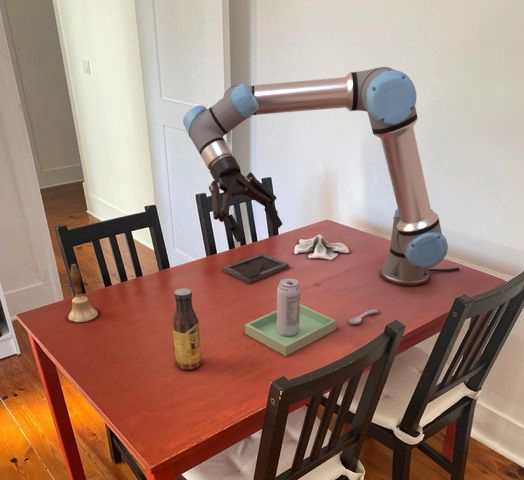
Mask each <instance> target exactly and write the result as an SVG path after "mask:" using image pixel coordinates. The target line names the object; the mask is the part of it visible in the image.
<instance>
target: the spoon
mask: <svg viewBox="0 0 524 480" xmlns="http://www.w3.org/2000/svg"><path fill="white" fill-rule="evenodd" d="M378 313H379V310H377V309H375V308H372V309H369V310H367V311H364V312H363V313H361V314H360V315H357V316H352V317H350V318H349V320H348V321H349V324H351V325H359V324H361V322H362V319H363V318H364V317H367V316H369V315H373V314H378Z"/></svg>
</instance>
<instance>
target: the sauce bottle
mask: <svg viewBox="0 0 524 480" xmlns="http://www.w3.org/2000/svg"><path fill="white" fill-rule="evenodd" d="M173 293H174V295H173V296H174V300H175V309H176V310H175V311H174V313H173V315H172V333H173V343H174V353H175V360H176V365H177V368H179V369H180V370H185V371H192V370H195V369H197V368H198V367H200V366H201V364H202V349H201V334H200V323H199V321H200V320H199V318H198V316H197V314H196V312H195V310H194V307H193V306H194V305H193V301H192V299H193V291H192V290H191V289H190V288H186V287H183V288H177V289H176V290H174V292H173Z"/></svg>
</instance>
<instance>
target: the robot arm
mask: <svg viewBox="0 0 524 480" xmlns="http://www.w3.org/2000/svg"><path fill="white" fill-rule="evenodd" d="M416 103H417V89H416V86H415V83H414V82H413V80H412V79H411V78H410V77H409V76H408V75H407V74H406V73H404V72H403V71H400V70H397V69H394V68H391V67H387V66H380V67H375V68H371V69H366V70H360V71H352V72H349V73H347V75H346V76H342V77H333V78H321V79H319V78H318V79H309V80H298V81H297V80H296V81H286V82H277V83H276V82H275V83H264V84H254V85H246V84H245V83H241V84H239V85H232V86H230V87H229V88H227V89H226V90H225V91H224V93H223V96H222V98H220V99H219V100H218V101H217V102H215V103H214V104H213V105H212V106H210V107H209V108H207V106H204V105H203V104H202V105H201V104H200V105H196V106H195V107H191V108H190V109H189V110H188V111H186V113H185V114H184V116H183V118H182V123H183V126H184V128H185V130H186V132H187V134H188V137H189V138H190V140H191V142H192V143H193V145H194V146H195V148H196V150H197V152H198V154H199V155H200V157H201V159H202V161H203V162H204V164H205V166H206V168H207V169H208V170H209V173H210V175H211V177H212V179H213V180H212V181H211V183H210V184H209V186H208V190H209V192H210V195H211V206H212V216H213V220H215V221H217V220H218V221H219V222H220V223H223V224H224V225H225V227H226V229H227V230H228V231H229V232H231V234H232V235H233V237H234V239H235V241H236V243H240V242H241V241H242V240H243V239H244V238H245V235H244V233H243V231H242V230H241V228H240V226H239V224H238V222H237V220H236V219H235V217H234V215H233V214H232V213H231V214H229V213H230V208H231V202H232V201H231V200H232V198H234V197H236V196H241V195H243V196H247V197H248V198H250V199H252V200H253V201H255V202H256V203H258V204H260V205H261V206H263V207H264V209H263V210H264V212H265V213H266V215H267V217H268V219H269V221H270V223H271V225H272V226H273V228H274V230H275V231H277V230H279V229H280V228H281V227H282V225H284V224H283V222H282V220H281V218H280V217H279V211H278V209H276V207H275V205H274V202H275V201H276V200H277V196H276V195H275V194H274V193H273V192H272V191H270V189H268V188H267V187H266V186H265V185H263V184H262V182H260V181H259V180H258V179H257V178H256V176H255V175H254V174H253V172H250V171H249V173H248V174H246V175H243V174H242V172H241V166H240V164H239V163H238V161H237V160H236V159H237V158H236V157H235V156H234V154H233V152H232V150H231V149H230V147H229V145H228V143H227V141H226V140H225V138H224V136H226V135H227V134H229V132H231V131H232V130H234V129H235V128H236V127H238V126H239V125H241V124H242V123H243V122H244V121H246V120H248V119H250V118H251V117H252V116H257V115H271V114H280V113H281V114H282V113H283V114H284V113H293V112H294V113H296V112H310V111H317V110H318V111H321V110H332V109H333V110H335V109H344V108H345V109H347V110H348V111H349V112H357V111H359V112H360V111H361V112H366V113H367V116H368V119H369V123H370V127H371V132H372V135H374V136H375V137H377V138H379V139H380V142H381V147H382V150H383V155H384V158H385V162H386V167H387V169H388V170H387V171H388V174H389V179H390V183H391V186H392V191H393V194H394V198H395V203H396V207H397V208H396V210H395V211H394V216H393V223H392V230H391V239H390V246H389V253H388V255H387V256H386V259H385V261H384V263H383V265H382V267H381V273H380V276H381V277H382V279H383V280H385V281H386V282H388V283H390V284H394V285H398V286H403V287H414V286H421V285H424V284H426V283H427V282H428V281H429V279H430V272H438V273H439V272H440V273H441V272H443V273H444V272H445V273H446V272H454V271H455V272H456V271H460V267H453V268H452V267H451V268H434V267H436V266H438V265H439V264H440V263H442V262H443V260H444V259H445V257H446V255H447V254H448V251H449V244H448V241H447V239H446V237H445V235H444V234H443V232H442V227H441V223H440V222H441V221H440V218H439V214H438V213H437V212H435V211H434V210H433V209H432V207H431V203H430V199H429V194H428V189H427V184H426V181H425V175H424V170H423V166H422V162H421V157H420V153H419V147H418V142H417V138H416V134H415V129H414V127H415V125H416V123H417V121H418V119H419V118H418V113H417V108H416ZM220 190H221V191H222V192H223V196H222V203H221V191H220Z"/></svg>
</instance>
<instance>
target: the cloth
mask: <svg viewBox="0 0 524 480" xmlns="http://www.w3.org/2000/svg"><path fill="white" fill-rule="evenodd" d="M298 243H299V244H296V245H295V246H294V251H293V252H294V255H298V254H304V253H305V254H307V253H308V255H307V258H308V259H319V260H329V261H332V260H334V259H335V258H337V257H338V255H339V253H341V254H349V253H350V252H351V251H350V249H349V248H348V247H347V245H346V244H345V243H344V242H329V241H327V240H326V239H325V237H324V236H323V235H322V234H320V233H319V234H317V235H316V236H314V237H311V238H309V239H298Z"/></svg>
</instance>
